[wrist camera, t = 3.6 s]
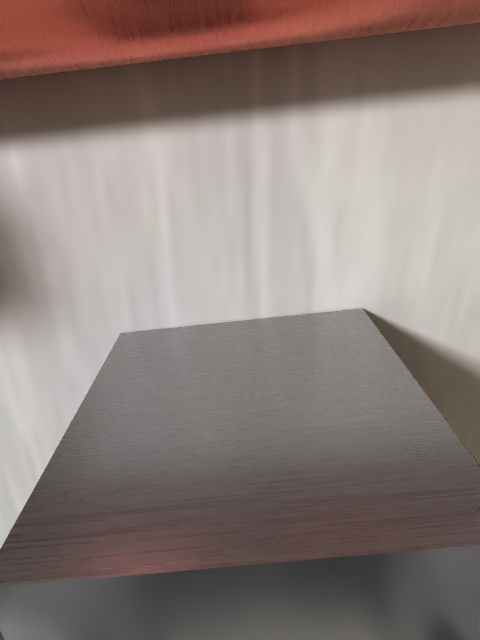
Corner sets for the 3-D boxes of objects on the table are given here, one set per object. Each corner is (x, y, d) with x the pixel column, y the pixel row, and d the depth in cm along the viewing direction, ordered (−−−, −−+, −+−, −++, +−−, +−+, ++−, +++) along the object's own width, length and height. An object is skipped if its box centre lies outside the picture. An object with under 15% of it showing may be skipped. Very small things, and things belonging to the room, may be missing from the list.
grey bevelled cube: (362, 308, 10) (534, 539, 4) (361, 493, 12) (472, 805, 6) (120, 333, 10) (-22, 588, 4) (162, 511, 12) (104, 831, 7)
